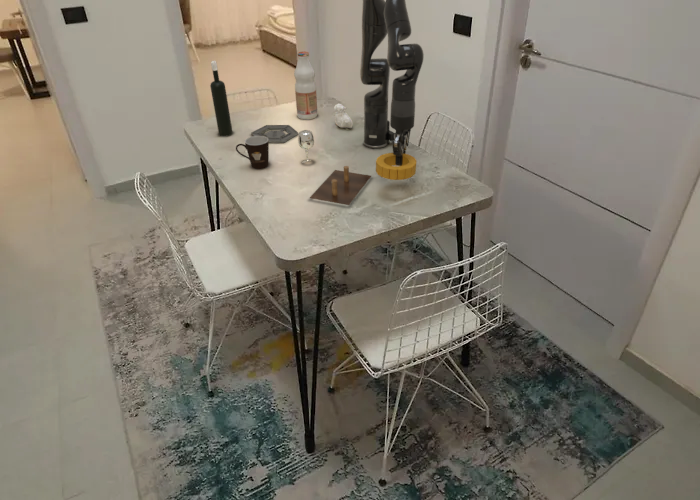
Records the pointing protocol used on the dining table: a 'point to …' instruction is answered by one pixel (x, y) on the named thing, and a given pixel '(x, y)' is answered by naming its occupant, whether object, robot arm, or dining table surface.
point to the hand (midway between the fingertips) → (400, 162)
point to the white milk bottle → (305, 87)
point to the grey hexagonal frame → (276, 133)
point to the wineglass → (306, 141)
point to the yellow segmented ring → (395, 167)
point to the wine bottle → (220, 103)
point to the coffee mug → (257, 151)
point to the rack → (341, 187)
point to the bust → (342, 117)
